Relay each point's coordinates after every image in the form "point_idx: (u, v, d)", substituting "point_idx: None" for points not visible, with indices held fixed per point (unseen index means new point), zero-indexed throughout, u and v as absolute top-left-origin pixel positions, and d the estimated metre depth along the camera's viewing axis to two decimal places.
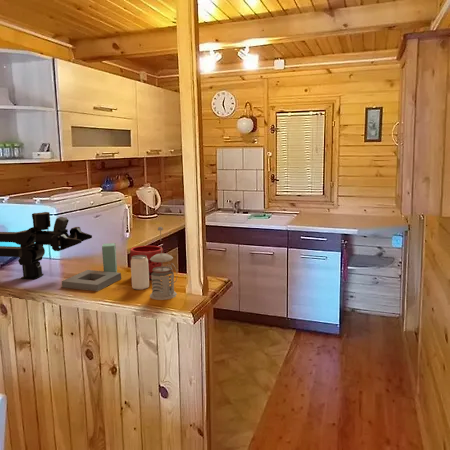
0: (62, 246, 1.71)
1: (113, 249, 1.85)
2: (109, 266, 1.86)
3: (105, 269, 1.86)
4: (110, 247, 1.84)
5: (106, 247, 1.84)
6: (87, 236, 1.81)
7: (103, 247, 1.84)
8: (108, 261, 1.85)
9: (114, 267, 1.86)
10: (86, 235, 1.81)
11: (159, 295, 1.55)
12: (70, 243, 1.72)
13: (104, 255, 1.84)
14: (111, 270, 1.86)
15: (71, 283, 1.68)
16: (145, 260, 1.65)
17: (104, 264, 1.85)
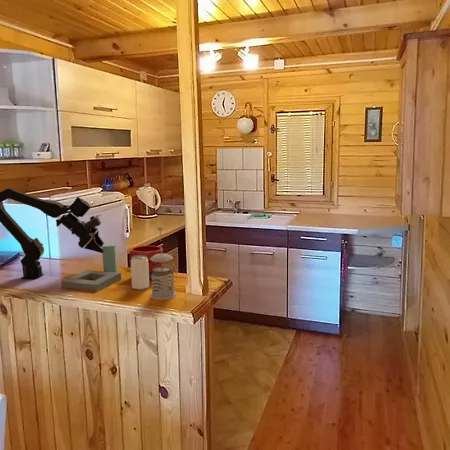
0: (87, 246, 1.78)
1: (113, 249, 1.85)
2: (109, 266, 1.86)
3: (105, 269, 1.86)
4: (110, 247, 1.84)
5: (106, 247, 1.84)
6: (102, 244, 1.90)
7: (103, 247, 1.84)
8: (108, 261, 1.85)
9: (114, 267, 1.86)
10: (101, 243, 1.90)
11: (159, 295, 1.55)
12: (94, 247, 1.80)
13: (104, 255, 1.84)
14: (111, 270, 1.86)
15: (71, 283, 1.68)
16: (145, 260, 1.65)
17: (104, 264, 1.85)
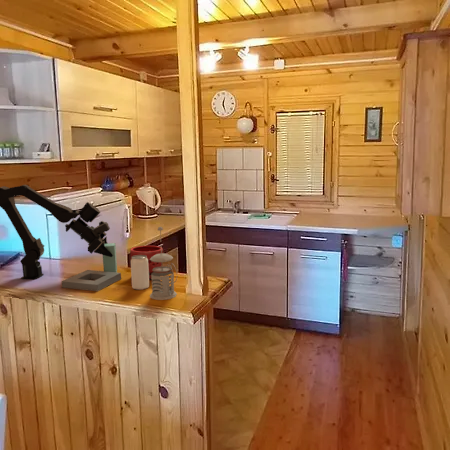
0: (96, 250, 1.81)
1: (113, 249, 1.85)
2: (109, 266, 1.86)
3: (105, 269, 1.86)
4: (110, 247, 1.84)
5: (106, 247, 1.84)
6: None
7: None
8: (108, 261, 1.85)
9: (114, 267, 1.86)
10: None
11: (159, 295, 1.55)
12: (103, 251, 1.83)
13: (104, 255, 1.84)
14: (111, 270, 1.86)
15: (71, 283, 1.68)
16: (145, 260, 1.65)
17: (104, 264, 1.85)
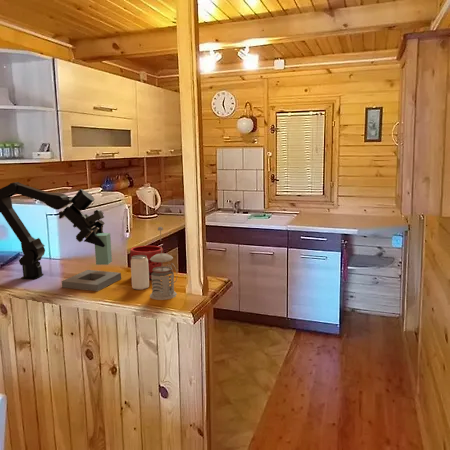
0: (87, 239, 1.74)
1: (105, 239, 1.77)
2: (101, 256, 1.78)
3: (97, 259, 1.79)
4: (102, 237, 1.77)
5: (98, 236, 1.77)
6: None
7: None
8: (100, 251, 1.78)
9: (106, 258, 1.78)
10: None
11: (159, 295, 1.55)
12: (95, 241, 1.76)
13: (96, 245, 1.77)
14: (103, 261, 1.78)
15: (71, 283, 1.68)
16: (145, 260, 1.65)
17: (96, 254, 1.78)
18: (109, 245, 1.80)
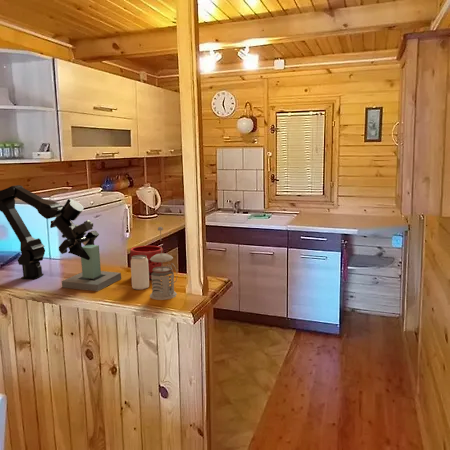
0: (71, 251, 1.68)
1: (90, 252, 1.69)
2: (87, 269, 1.71)
3: (83, 272, 1.72)
4: (87, 249, 1.69)
5: (84, 249, 1.70)
6: None
7: None
8: (86, 264, 1.71)
9: (91, 271, 1.70)
10: None
11: (159, 295, 1.55)
12: (80, 253, 1.69)
13: None
14: (89, 274, 1.71)
15: (71, 283, 1.68)
16: (145, 260, 1.65)
17: (82, 266, 1.71)
18: (96, 258, 1.72)
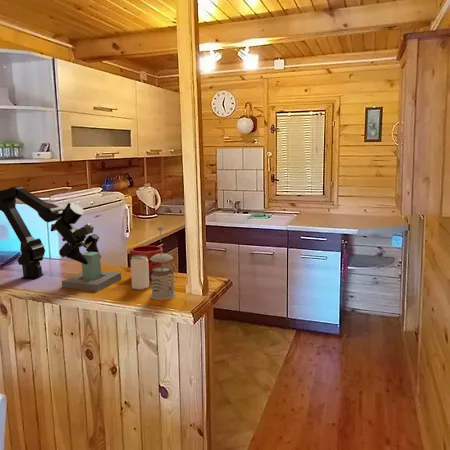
0: (69, 255, 1.67)
1: (91, 259, 1.69)
2: (88, 276, 1.71)
3: (84, 279, 1.72)
4: (88, 256, 1.70)
5: (85, 256, 1.70)
6: None
7: None
8: (87, 271, 1.71)
9: (92, 278, 1.71)
10: None
11: (159, 295, 1.55)
12: (77, 258, 1.68)
13: (83, 264, 1.71)
14: None
15: (71, 283, 1.68)
16: (145, 260, 1.65)
17: (83, 273, 1.72)
18: (97, 265, 1.73)
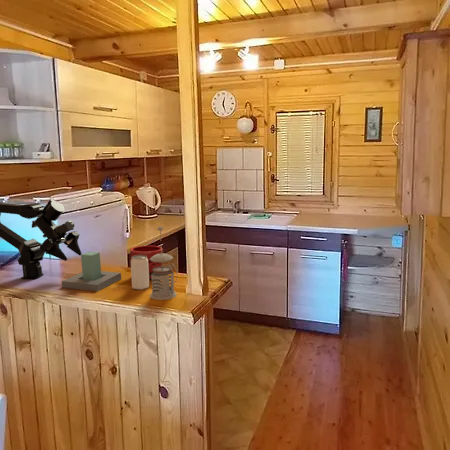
0: (48, 251, 1.70)
1: (91, 259, 1.69)
2: (88, 276, 1.71)
3: (84, 279, 1.72)
4: (88, 256, 1.70)
5: (84, 256, 1.70)
6: (78, 251, 1.80)
7: (82, 255, 1.70)
8: (87, 271, 1.71)
9: (92, 278, 1.71)
10: (77, 249, 1.80)
11: (159, 295, 1.55)
12: (57, 254, 1.71)
13: (83, 264, 1.71)
14: None
15: (71, 283, 1.68)
16: (145, 260, 1.65)
17: (83, 273, 1.72)
18: (97, 265, 1.73)
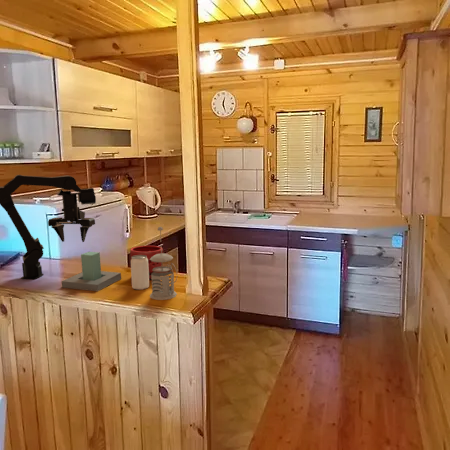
0: (86, 227, 1.85)
1: (91, 259, 1.69)
2: (88, 276, 1.71)
3: (84, 279, 1.72)
4: (88, 256, 1.70)
5: (84, 256, 1.70)
6: (63, 237, 1.89)
7: (82, 255, 1.70)
8: (87, 271, 1.71)
9: (92, 278, 1.71)
10: (63, 236, 1.90)
11: (159, 295, 1.55)
12: (84, 233, 1.87)
13: (83, 264, 1.71)
14: None
15: (71, 283, 1.68)
16: (145, 260, 1.65)
17: (83, 273, 1.72)
18: (97, 265, 1.73)
